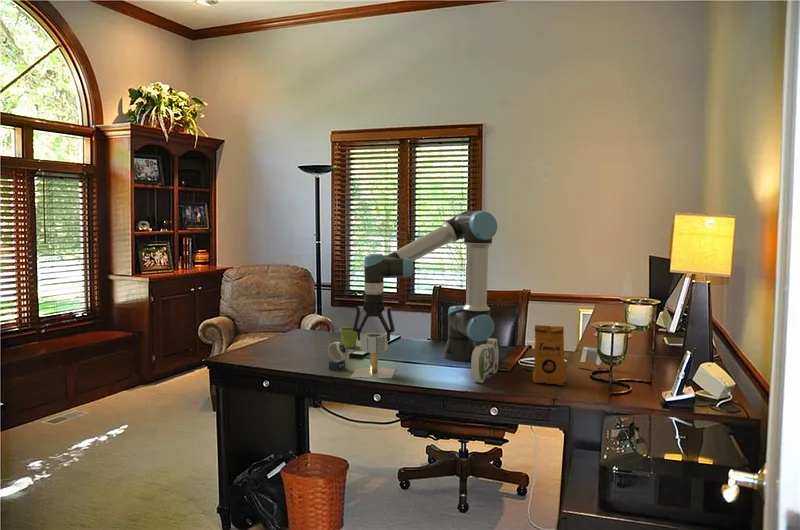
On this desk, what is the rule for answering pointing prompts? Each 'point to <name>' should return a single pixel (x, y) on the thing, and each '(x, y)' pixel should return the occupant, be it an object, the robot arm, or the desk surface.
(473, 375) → the cutout
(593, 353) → the portable electronic device stand
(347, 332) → the plant pot
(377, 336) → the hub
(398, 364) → the desk surface
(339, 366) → the watch
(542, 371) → the coffee package
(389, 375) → the square peg stand
